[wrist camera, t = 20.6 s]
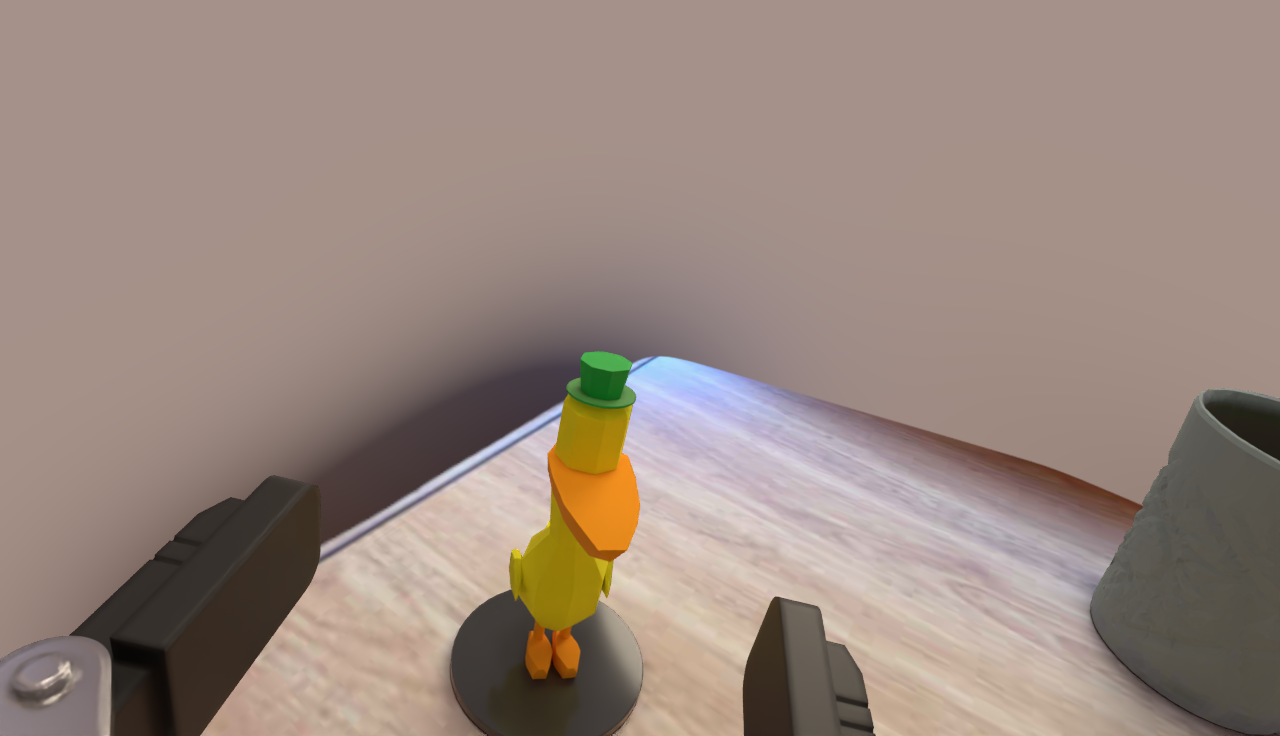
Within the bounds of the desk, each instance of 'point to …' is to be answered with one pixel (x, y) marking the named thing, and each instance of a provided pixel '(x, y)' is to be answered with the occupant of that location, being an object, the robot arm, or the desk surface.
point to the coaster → (553, 707)
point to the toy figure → (580, 514)
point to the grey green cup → (1206, 568)
